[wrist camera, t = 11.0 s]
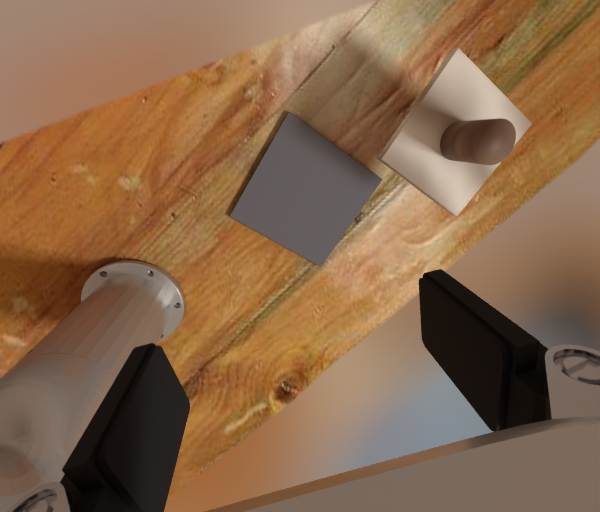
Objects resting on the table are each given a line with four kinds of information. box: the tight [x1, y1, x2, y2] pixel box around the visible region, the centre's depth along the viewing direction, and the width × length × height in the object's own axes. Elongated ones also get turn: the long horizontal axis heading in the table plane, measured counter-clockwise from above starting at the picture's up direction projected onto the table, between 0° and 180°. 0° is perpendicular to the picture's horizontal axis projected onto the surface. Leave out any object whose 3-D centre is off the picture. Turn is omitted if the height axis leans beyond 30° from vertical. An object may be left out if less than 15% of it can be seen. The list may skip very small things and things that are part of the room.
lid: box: [377, 48, 532, 216], centre depth 27 cm, size 11×11×6 cm
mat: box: [230, 112, 382, 267], centre depth 37 cm, size 14×14×1 cm
